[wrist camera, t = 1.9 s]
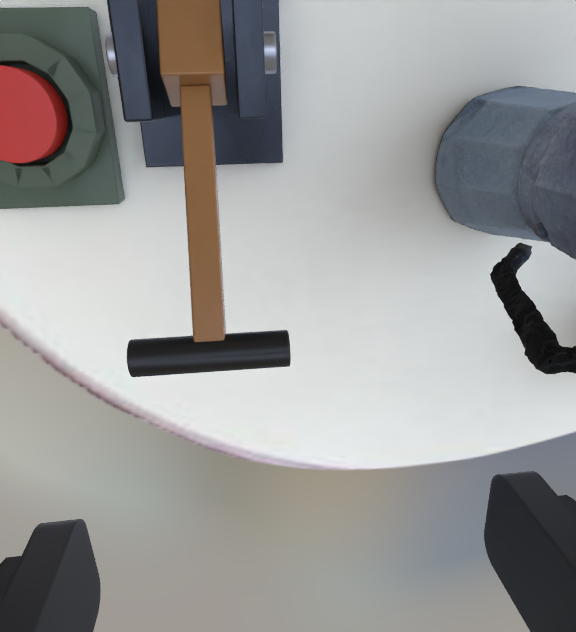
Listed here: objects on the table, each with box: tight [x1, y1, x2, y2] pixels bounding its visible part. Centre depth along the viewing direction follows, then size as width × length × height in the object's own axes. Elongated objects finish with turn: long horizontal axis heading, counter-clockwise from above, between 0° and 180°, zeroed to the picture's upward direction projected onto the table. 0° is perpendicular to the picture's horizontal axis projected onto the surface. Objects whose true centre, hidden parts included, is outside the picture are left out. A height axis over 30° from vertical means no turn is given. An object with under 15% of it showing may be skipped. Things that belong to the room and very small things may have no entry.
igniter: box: [0, 7, 125, 209], centre depth 27 cm, size 10×8×4 cm
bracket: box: [106, 0, 283, 167], centre depth 22 cm, size 10×8×13 cm
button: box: [0, 65, 68, 163], centre depth 25 cm, size 4×4×2 cm
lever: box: [127, 0, 290, 377], centre depth 18 cm, size 13×6×2 cm, turn 0°
